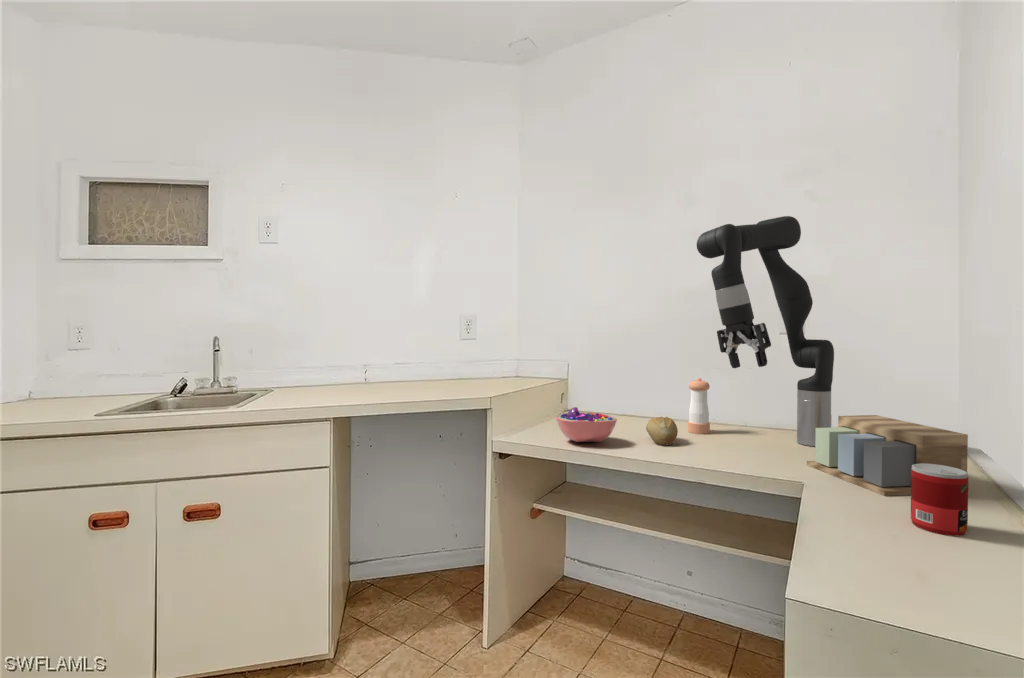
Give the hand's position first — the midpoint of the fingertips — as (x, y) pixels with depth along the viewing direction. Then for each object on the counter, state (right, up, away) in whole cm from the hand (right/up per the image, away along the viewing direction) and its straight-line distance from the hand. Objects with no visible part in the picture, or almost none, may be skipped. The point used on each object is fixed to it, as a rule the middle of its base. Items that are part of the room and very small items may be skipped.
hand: (749, 366), depth 125 cm
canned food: (+19, -28, -33) cm, 47 cm away
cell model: (-36, -27, +37) cm, 58 cm away
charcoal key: (+28, -26, -11) cm, 40 cm away
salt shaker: (+7, -26, +51) cm, 58 cm away
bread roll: (-11, -27, +37) cm, 47 cm away
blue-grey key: (+27, -26, -3) cm, 37 cm away
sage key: (+26, -26, +5) cm, 37 cm away
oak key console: (+31, -27, -3) cm, 41 cm away
